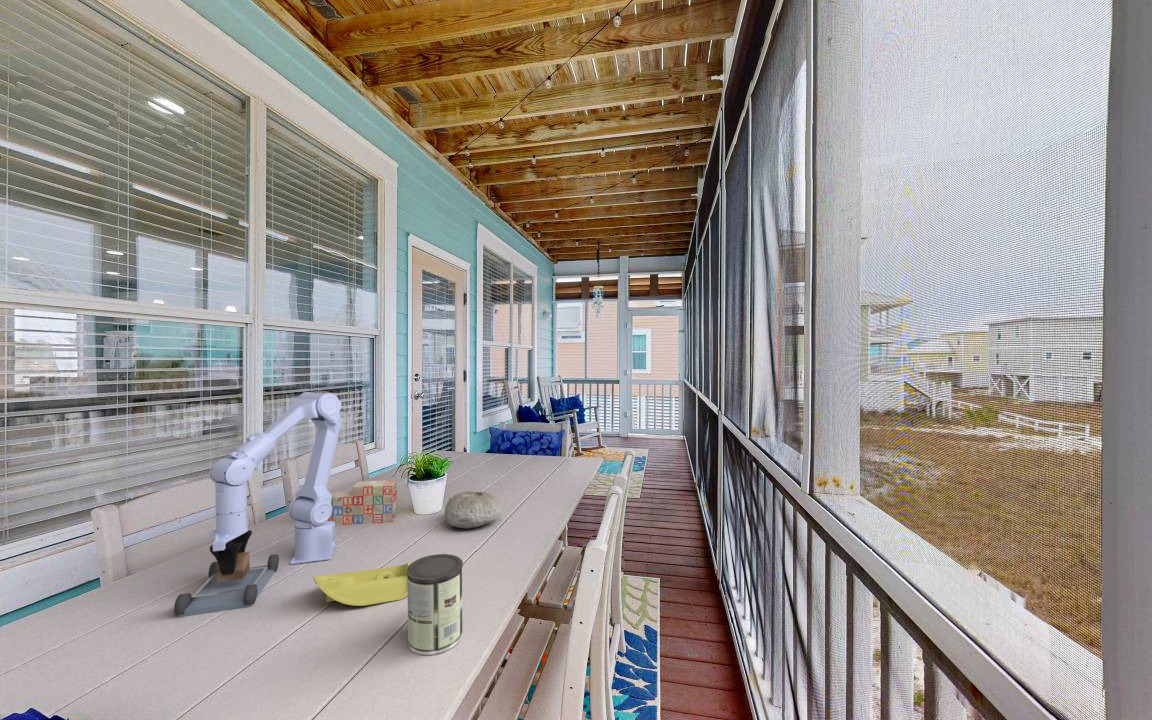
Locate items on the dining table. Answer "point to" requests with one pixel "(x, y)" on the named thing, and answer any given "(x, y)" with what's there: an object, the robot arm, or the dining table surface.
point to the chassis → (226, 591)
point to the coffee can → (434, 604)
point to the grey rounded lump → (472, 509)
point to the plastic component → (365, 585)
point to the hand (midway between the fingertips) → (232, 569)
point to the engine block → (236, 568)
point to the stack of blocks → (365, 503)
